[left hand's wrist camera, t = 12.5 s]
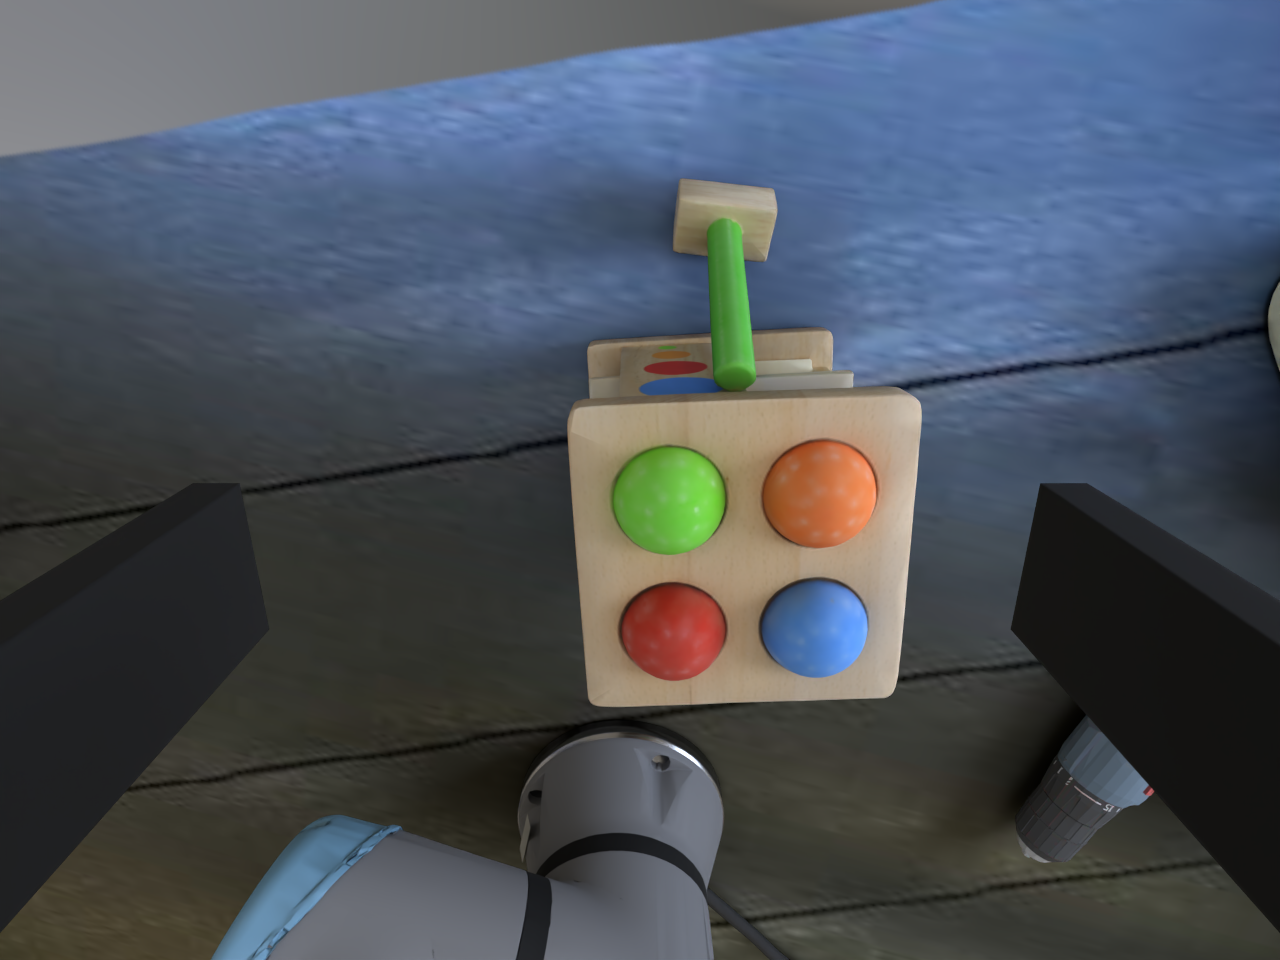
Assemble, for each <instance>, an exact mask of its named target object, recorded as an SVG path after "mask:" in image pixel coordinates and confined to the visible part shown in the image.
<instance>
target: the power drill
mask: <svg viewBox="0 0 1280 960" xmlns="http://www.w3.org/2000/svg"><path fill="white" fill-rule="evenodd" d="M1153 792H1154V790H1153V789H1152V788H1151V787H1150V786H1149V785H1148V784H1147V782H1146V781H1145V780H1144V779H1143V778H1142V777H1141V776H1140V774H1139V773H1138V772H1137V771H1136V770H1135V769H1134V768H1133V767H1132V765H1131V764H1130V763H1129V762H1128V761H1127V760H1126V759H1125V758H1124V756H1123V755H1122V754H1121V753H1120V752H1119V751H1118V750H1117V749H1116V747H1115V746H1114V745H1113V744H1112V743H1111V742H1110V741H1109V740H1108V738H1107V737H1106V736H1105V735H1104V734H1103V733H1102V732H1101V731H1100V729H1099V728H1098V727H1097V726H1096V725H1095V724H1094V723H1093V721H1092V720H1091V719H1090V718H1089V717H1088V716H1087V715H1086V716H1085V717H1084V718H1083V719H1082V721H1081V722H1080V723H1079V724H1078V726H1077V727H1076V728H1075V729H1074V731H1073V732H1072V733H1071V734H1070V736H1069V737H1068V738H1067V739H1066V741H1065V742H1064V743H1063V745H1062V747H1061V749H1060V751H1059V752H1058V754H1057V755H1056V757H1055V758H1054V759H1053V760H1052V763H1051V764H1050V766H1049V768H1048V769H1047V771H1046V773H1045V775H1044V777H1043V779H1042V780H1041V783H1040V784H1039V785H1038V787H1037V788H1036V789H1035V790H1034V791H1033V793H1032V794H1031V795H1029V796H1028V799H1027V800H1026V802H1025V803H1024V805H1023V806H1022V807H1021V809H1020V810H1019V812H1018V813H1017V814H1016V816H1015V821H1016V829H1017V839H1018V842H1019V845H1020V846H1021V847H1022V852H1023V854H1024V855H1025V856H1027V857H1028V858H1029V857H1030V856H1031V857H1032V858H1033V860H1034V859H1035V860H1037V861H1039V862H1067V861H1069V860H1070V859H1071V858H1072V857H1073V856H1074V855H1075V854H1076V853H1077V852H1078V851H1079V850H1080V849H1081V848H1082V847H1083V846H1084V845H1085V844H1087V841H1088V840H1089V839H1090V838H1091V837H1092V836H1093V834H1094V833H1095V832H1096V831H1097V830H1098V829H1099V828H1101V827H1102V826H1103V825H1104V824H1106V823H1107V822H1108V821H1109V820H1111V819H1112V818H1113V817H1114V816H1116V815H1117V814H1118V813H1119V812H1120V811H1121V810H1122V809H1123V808H1126V807H1128V806H1131V805H1139V804H1141V803H1142V802H1143V801H1145V800H1146V799H1147V798H1148V797H1149V796H1151V795H1152V794H1153Z"/></svg>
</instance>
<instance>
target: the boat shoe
mask: <svg viewBox="0 0 1280 960" xmlns="http://www.w3.org/2000/svg"><path fill="white" fill-rule="evenodd" d="M1268 328H1269V338H1270V342H1271V345H1272V349H1273V352H1274V355H1275V359H1276V362H1277V364H1278V367H1279V370H1280V283H1279V284H1278V286H1277V288H1276V290H1275V292H1274V294H1273V296H1272V300H1271V304H1270V307H1269V314H1268Z"/></svg>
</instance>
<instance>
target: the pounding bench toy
mask: <svg viewBox="0 0 1280 960" xmlns="http://www.w3.org/2000/svg"><path fill="white" fill-rule="evenodd" d="M777 211H778V210H777V202H776V198H775V193H774V190H773V189H772V188H764V187H755V186H746V185H737V184H728V183H720V182H711V181H702V180H693V179H680V180H679V186H678V193H677V201H676V210H675V219H674V228H673V251H675V252H677V253H686V254H693V255H702V256H708V275H709V299H710V324H711V333H702V334H686V335H671V336H655V337H638V338H622V339H608V340H595V341H592V342H590V344H589V346H588V350H587V359H588V373H589V398H590V399H581V400H578V401H576V402H575V403H574V404H573V406H572V409H571V411H570V414H569V417H568V422H567V432H568V449H569V464H570V478H571V491H572V505H573V518H574V531H575V544H576V557H577V569H578V580H579V593H580V605H581V618H582V630H583V642H584V654H585V665H586V677H587V688H588V699H589V700H590V702H591V703H592V704H594V705H596V706H605V707H630V706H658V705H689V704H711V703H731V702H769V701H808V700H834V699H860V698H886V697H888V696H890V695H891V694H892V693H893V691H894V689H895V686H896V682H897V678H898V670H899V661H900V652H901V642H902V632H903V622H904V612H905V600H906V588H907V576H908V565H909V555H910V544H911V534H912V522H913V509H914V498H915V489H916V480H917V468H918V455H919V442H920V431H921V416H922V410H921V405H920V402H919V401H918V400H917V399H916V398H915V397H913V396H912V395H910V394H909V393H907V392H905V391H903V390H902V389H900V388H897V387H886V386H879V387H853V376H854V374H853V372H852V371H850V370H838V371H832V359H833V337H832V333H831V332H830V331H829V330H827V329H825V328H822V327H808V328H789V329H771V330H753V331H751V321H750V312H749V302H748V293H747V284H746V275H745V265H744V260H746V261H755V262H764V261H766V260H767V255H768V251H769V246H770V242H771V238H772V234H773V230H774V226H775V221H776V216H777Z"/></svg>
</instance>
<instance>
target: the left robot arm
mask: <svg viewBox="0 0 1280 960" xmlns="http://www.w3.org/2000/svg"><path fill="white" fill-rule="evenodd" d="M268 630H269V626H268V621H267V616H266V611H265V606H264V601H263V596H262V591H261V586H260V581H259V576H258V571H257V567H256V562H255V557H254V552H253V547H252V542H251V537H250V532H249V527H248V522H247V517H246V512H245V508H244V503H243V498H242V493H241V488H240V483H193V484H191V485H189V486H188V487H186V488H185V489H183V490H181V491H180V492H178V493H176V494H175V495H173V496H171V497H170V498H168V499H166V500H165V501H163V502H162V503H160V504H158V505H157V506H155V507H153V508H152V509H150V510H148V511H147V512H145V513H143V514H142V515H140V516H139V517H137V518H135V519H134V520H132V521H130V522H129V523H127V524H125V525H124V526H122V527H120V528H119V529H117V530H116V531H114V532H112V533H111V534H109V535H107V536H106V537H104V538H102V539H101V540H99V541H97V542H96V543H94V544H93V545H91V546H89V547H88V548H86V549H84V550H83V551H81V552H79V553H78V554H76V555H74V556H73V557H71V558H70V559H68V560H66V561H65V562H63V563H61V564H60V565H58V566H56V567H55V568H53V569H51V570H50V571H48V572H47V573H45V574H43V575H42V576H40V577H38V578H37V579H35V580H33V581H32V582H30V583H29V584H27V585H25V586H24V587H22V588H20V589H19V590H17V591H15V592H14V593H12V594H10V595H9V596H7V597H6V598H4V599H2V600H1V601H0V932H1V931H2V930H3V929H4V928H5V927H6V926H7V925H8V923H9V922H10V921H11V920H12V919H13V918H14V917H15V915H16V914H17V913H18V912H19V911H20V910H21V909H22V908H23V906H24V905H25V904H26V903H27V902H28V901H29V900H30V899H31V897H32V896H33V895H34V894H35V893H36V892H37V891H38V890H39V888H40V887H41V886H42V885H43V884H44V883H45V882H46V881H47V879H48V878H49V877H50V876H51V875H52V874H53V873H54V871H55V870H56V869H57V868H58V867H59V866H60V865H61V864H62V862H63V861H64V860H65V859H66V858H67V857H68V856H69V855H70V853H71V852H72V851H73V850H74V849H75V848H76V847H77V846H78V844H79V843H80V842H81V841H82V840H83V839H84V838H85V837H86V835H87V834H88V833H89V832H90V831H91V830H92V829H93V828H94V826H95V825H96V824H97V823H98V822H99V821H100V820H101V818H102V817H103V816H104V815H105V814H106V813H107V812H108V811H109V809H110V808H111V807H112V806H113V805H114V804H115V803H116V802H117V800H118V799H119V798H120V797H121V796H122V795H123V794H124V793H125V791H126V790H127V789H128V788H129V787H130V786H131V785H132V784H133V782H134V781H135V780H136V779H137V778H138V777H139V776H140V774H141V773H142V772H143V771H144V770H145V769H146V768H147V767H148V765H149V764H150V763H151V762H152V761H153V760H154V759H155V758H156V756H157V755H158V754H159V753H160V752H161V751H162V750H163V749H164V747H165V746H166V745H167V744H168V743H169V742H170V741H171V740H172V738H173V737H174V736H175V735H176V734H177V733H178V732H179V731H180V729H181V728H182V727H183V726H184V725H185V724H186V723H187V721H188V720H189V719H190V718H191V717H192V716H193V715H194V714H195V712H196V711H197V710H198V709H199V708H200V707H201V706H202V705H203V703H204V702H205V701H206V700H207V699H208V698H209V697H210V696H211V694H212V693H213V692H214V691H215V690H216V689H217V688H218V687H219V685H220V684H221V683H222V682H223V681H224V680H225V679H226V677H227V676H228V675H229V674H230V673H231V672H232V671H233V670H234V668H235V667H236V666H237V665H238V664H239V663H240V662H241V661H242V659H243V658H244V657H245V656H246V655H247V654H248V653H249V652H250V650H251V649H252V648H253V647H254V646H255V645H256V644H257V643H258V641H259V640H260V639H261V638H262V637H263V636H264V635H265V634H266V632H267V631H268ZM1011 630H1012V631H1013V632H1014V634H1015V635H1016V636H1017V637H1018V638H1019V639H1020V640H1021V641H1022V643H1023V644H1024V645H1025V646H1026V647H1027V648H1028V649H1029V650H1030V652H1031V653H1032V654H1033V655H1034V656H1035V657H1036V658H1037V659H1038V661H1039V662H1040V663H1041V664H1042V665H1043V666H1044V667H1045V668H1046V670H1047V671H1048V672H1049V673H1050V674H1051V675H1052V676H1053V677H1054V679H1055V680H1056V681H1057V682H1058V683H1059V684H1060V685H1061V687H1062V688H1063V689H1064V690H1065V691H1066V692H1067V693H1068V694H1069V696H1070V697H1071V698H1072V699H1073V700H1074V701H1075V702H1076V703H1077V705H1078V706H1079V707H1080V708H1081V709H1082V710H1083V711H1084V712H1085V714H1086V715H1087V716H1088V717H1089V718H1090V719H1091V720H1092V721H1093V723H1094V724H1095V725H1096V726H1097V727H1098V728H1099V729H1100V731H1101V732H1102V733H1103V734H1104V735H1105V736H1106V737H1107V738H1108V740H1109V741H1110V742H1111V743H1112V744H1113V745H1114V746H1115V747H1116V749H1117V750H1118V751H1119V752H1120V753H1121V754H1122V755H1123V756H1124V758H1125V759H1126V760H1127V761H1128V762H1129V763H1130V764H1131V765H1132V767H1133V768H1134V769H1135V770H1136V771H1137V772H1138V773H1139V774H1140V776H1141V777H1142V778H1143V779H1144V780H1145V781H1146V782H1147V784H1148V785H1149V786H1150V787H1151V788H1152V789H1153V790H1154V791H1155V793H1156V794H1157V795H1158V796H1159V797H1160V798H1161V799H1162V800H1163V802H1164V803H1165V804H1166V805H1167V806H1168V807H1169V808H1170V809H1171V811H1172V812H1173V813H1174V814H1175V815H1176V816H1177V817H1178V818H1179V820H1180V821H1181V822H1182V823H1183V824H1184V825H1185V826H1186V828H1187V829H1188V830H1189V831H1190V832H1191V833H1192V834H1193V835H1194V837H1195V838H1196V839H1197V840H1198V841H1199V842H1200V843H1201V844H1202V846H1203V847H1204V848H1205V849H1206V850H1207V851H1208V852H1209V853H1210V855H1211V856H1212V857H1213V858H1214V859H1215V860H1216V861H1217V862H1218V864H1219V865H1220V866H1221V867H1222V868H1223V869H1224V870H1225V871H1226V873H1227V874H1228V875H1229V876H1230V877H1231V878H1232V879H1233V881H1234V882H1235V883H1236V884H1237V885H1238V886H1239V887H1240V888H1241V890H1242V891H1243V892H1244V893H1245V894H1246V895H1247V896H1248V897H1249V899H1250V900H1251V901H1252V902H1253V903H1254V904H1255V905H1256V906H1257V908H1258V909H1259V910H1260V911H1261V912H1262V913H1263V914H1264V915H1265V917H1266V918H1267V919H1268V920H1269V921H1270V922H1271V923H1272V925H1273V926H1274V927H1275V928H1276V929H1277V930H1278V931H1279V932H1280V601H1279V600H1278V599H1276V598H1274V597H1273V596H1271V595H1270V594H1268V593H1266V592H1265V591H1263V590H1261V589H1260V588H1258V587H1256V586H1255V585H1253V584H1251V583H1250V582H1248V581H1247V580H1245V579H1243V578H1242V577H1240V576H1238V575H1237V574H1235V573H1233V572H1232V571H1230V570H1229V569H1227V568H1225V567H1224V566H1222V565H1220V564H1219V563H1217V562H1215V561H1214V560H1212V559H1210V558H1209V557H1207V556H1206V555H1204V554H1202V553H1201V552H1199V551H1197V550H1196V549H1194V548H1192V547H1191V546H1189V545H1187V544H1186V543H1184V542H1183V541H1181V540H1179V539H1178V538H1176V537H1174V536H1173V535H1171V534H1169V533H1168V532H1166V531H1164V530H1163V529H1161V528H1160V527H1158V526H1156V525H1155V524H1153V523H1151V522H1150V521H1148V520H1146V519H1145V518H1143V517H1141V516H1140V515H1138V514H1137V513H1135V512H1133V511H1132V510H1130V509H1128V508H1127V507H1125V506H1123V505H1122V504H1120V503H1118V502H1117V501H1115V500H1114V499H1112V498H1110V497H1109V496H1107V495H1105V494H1104V493H1102V492H1100V491H1099V490H1097V489H1096V488H1094V487H1092V486H1091V485H1089V484H1087V483H1040V488H1039V493H1038V498H1037V503H1036V507H1035V512H1034V517H1033V522H1032V527H1031V532H1030V537H1029V542H1028V547H1027V552H1026V557H1025V562H1024V566H1023V571H1022V576H1021V581H1020V586H1019V591H1018V596H1017V601H1016V606H1015V611H1014V616H1013V621H1012V626H1011ZM518 826H519V831H520V835H521V839H522V840H521V844H520V853H521V858H522V863H523V859H524V854H525V859H526V864H527V869H528V872H527V871H525V870H523V869H520V868H516V867H513V866H510V865H507V864H504V863H501V862H497V861H494V860H491V859H488V858H485V857H481V856H478V855H475V854H472V853H469V852H466V851H463V850H460V849H457V848H454V847H451V846H448V845H445V844H442V843H439V842H436V841H433V840H430V839H427V838H424V837H421V836H418V835H415V834H412V833H409V832H406V831H403V829H402V827H401V826H398V825H390V826H384V825H379V824H375V823H371V822H367V821H364V820H360V819H356V818H352V817H348V816H344V815H330V816H325V817H322V818H320V819H318V820H316V821H314V822H312V823H311V824H309V825H308V826H307V827H305V828H304V829H303V830H302V831H301V832H300V833H299V834H298V835H297V836H296V837H295V838H294V839H293V840H292V841H291V842H290V843H289V844H288V845H287V847H286V848H285V849H284V850H283V851H282V853H281V854H280V855H279V856H278V858H277V859H276V860H275V862H274V863H273V864H272V866H271V867H270V868H269V870H268V871H267V873H266V874H265V875H264V877H263V878H262V879H261V881H260V882H259V884H258V885H257V887H256V888H255V890H254V891H253V893H252V894H251V896H250V897H249V899H248V900H247V902H246V903H245V905H244V906H243V908H242V909H241V911H240V912H239V914H238V915H237V917H236V919H235V920H234V922H233V923H232V925H231V926H230V928H229V930H228V931H227V933H226V935H225V936H224V938H223V939H222V941H221V943H220V944H219V946H218V948H217V950H216V952H215V953H214V955H213V957H212V959H211V960H714V956H713V947H712V937H711V928H710V919H709V911H708V905H709V906H710V907H711V908H712V909H713V910H715V911H716V912H717V913H718V914H719V915H720V916H722V917H723V918H724V919H725V920H726V921H728V922H729V923H730V924H731V925H732V926H733V927H735V928H736V929H737V930H738V931H739V932H741V933H742V934H743V935H744V936H745V937H746V938H748V939H749V940H750V941H751V942H752V943H753V944H754V945H755V946H756V947H757V948H758V949H759V950H761V951H762V952H763V953H764V954H765V955H766V956H767V957H768V958H769V959H770V960H790V959H788V958H787V957H786V956H785V955H783V954H782V953H781V952H780V951H779V950H777V949H776V948H775V947H774V946H773V945H772V944H771V943H770V942H769V941H768V940H767V939H766V938H765V937H764V936H763V935H762V934H761V933H760V932H759V931H758V930H757V929H755V928H754V927H753V926H752V925H751V924H750V923H749V922H747V921H746V920H745V919H744V918H743V917H741V916H740V915H739V914H738V913H737V912H736V911H734V910H733V909H732V908H731V907H730V906H729V905H728V904H726V903H725V902H724V901H723V900H722V899H721V898H720V897H718V896H717V895H716V894H715V893H714V892H713V891H712V890H710V889H709V888H708V883H709V879H710V876H711V872H712V868H713V865H714V861H715V857H716V853H717V850H718V846H719V842H720V839H721V836H722V832H723V827H724V808H723V801H722V794H721V788H720V783H719V780H718V777H717V775H716V773H715V770H714V768H713V767H712V765H711V764H710V762H709V761H708V759H707V758H706V757H705V755H704V754H703V753H702V752H701V751H700V750H699V749H698V748H697V747H696V746H694V745H693V744H692V743H691V742H689V741H688V740H686V739H685V738H684V737H682V736H680V735H678V734H676V733H675V732H672V731H670V730H668V729H666V728H663V727H660V726H657V725H653V724H649V723H645V722H639V721H629V720H613V721H603V722H597V723H592V724H588V725H585V726H582V727H579V728H576V729H574V730H571V731H569V732H567V733H565V734H563V735H562V736H560V737H558V738H557V739H555V740H554V741H552V742H551V743H550V744H549V745H547V746H546V747H545V748H544V749H543V750H542V751H541V752H540V753H539V754H538V756H537V757H536V758H535V759H534V761H533V762H532V764H531V766H530V767H529V769H528V771H527V774H526V776H525V779H524V782H523V787H522V792H521V797H520V802H519V807H518Z"/></svg>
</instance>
